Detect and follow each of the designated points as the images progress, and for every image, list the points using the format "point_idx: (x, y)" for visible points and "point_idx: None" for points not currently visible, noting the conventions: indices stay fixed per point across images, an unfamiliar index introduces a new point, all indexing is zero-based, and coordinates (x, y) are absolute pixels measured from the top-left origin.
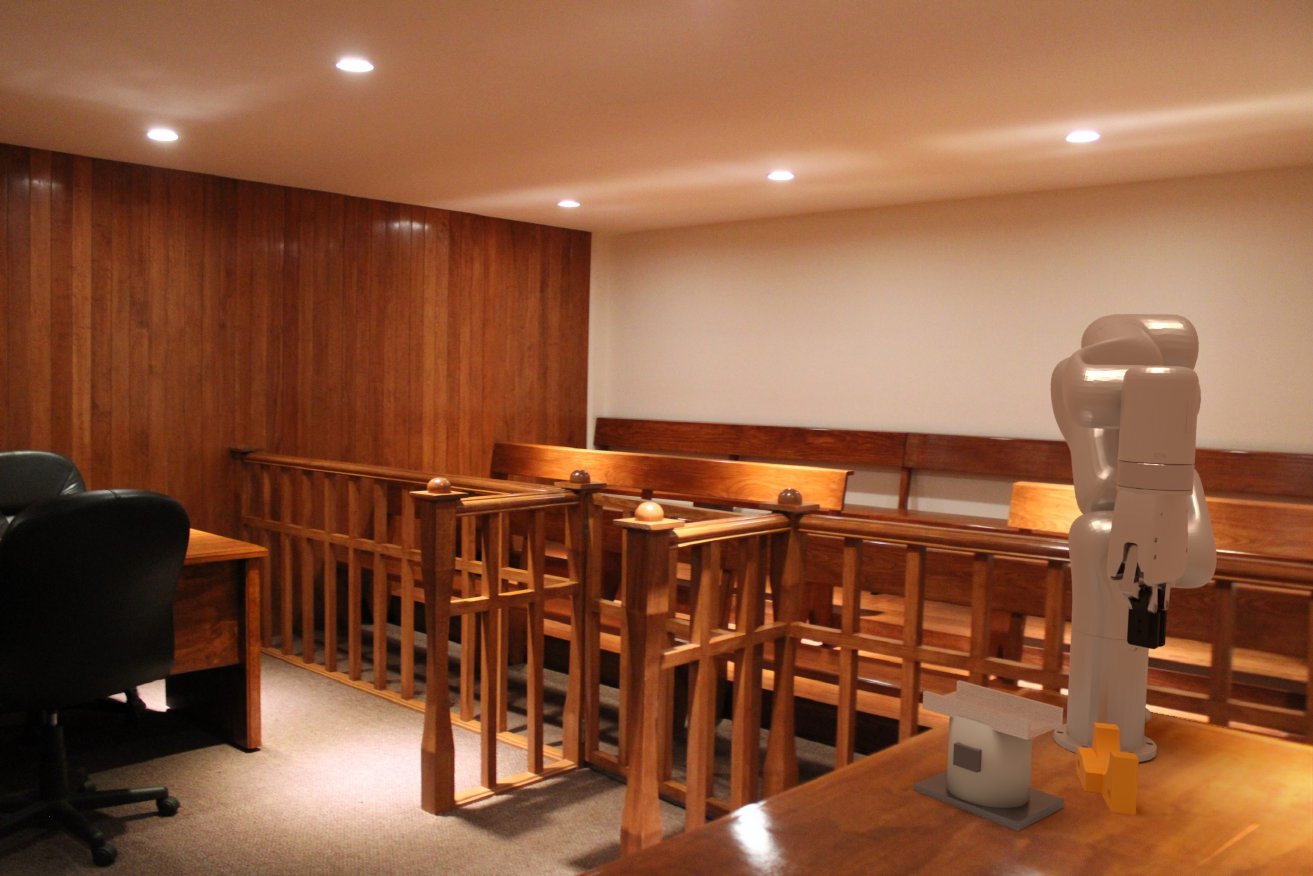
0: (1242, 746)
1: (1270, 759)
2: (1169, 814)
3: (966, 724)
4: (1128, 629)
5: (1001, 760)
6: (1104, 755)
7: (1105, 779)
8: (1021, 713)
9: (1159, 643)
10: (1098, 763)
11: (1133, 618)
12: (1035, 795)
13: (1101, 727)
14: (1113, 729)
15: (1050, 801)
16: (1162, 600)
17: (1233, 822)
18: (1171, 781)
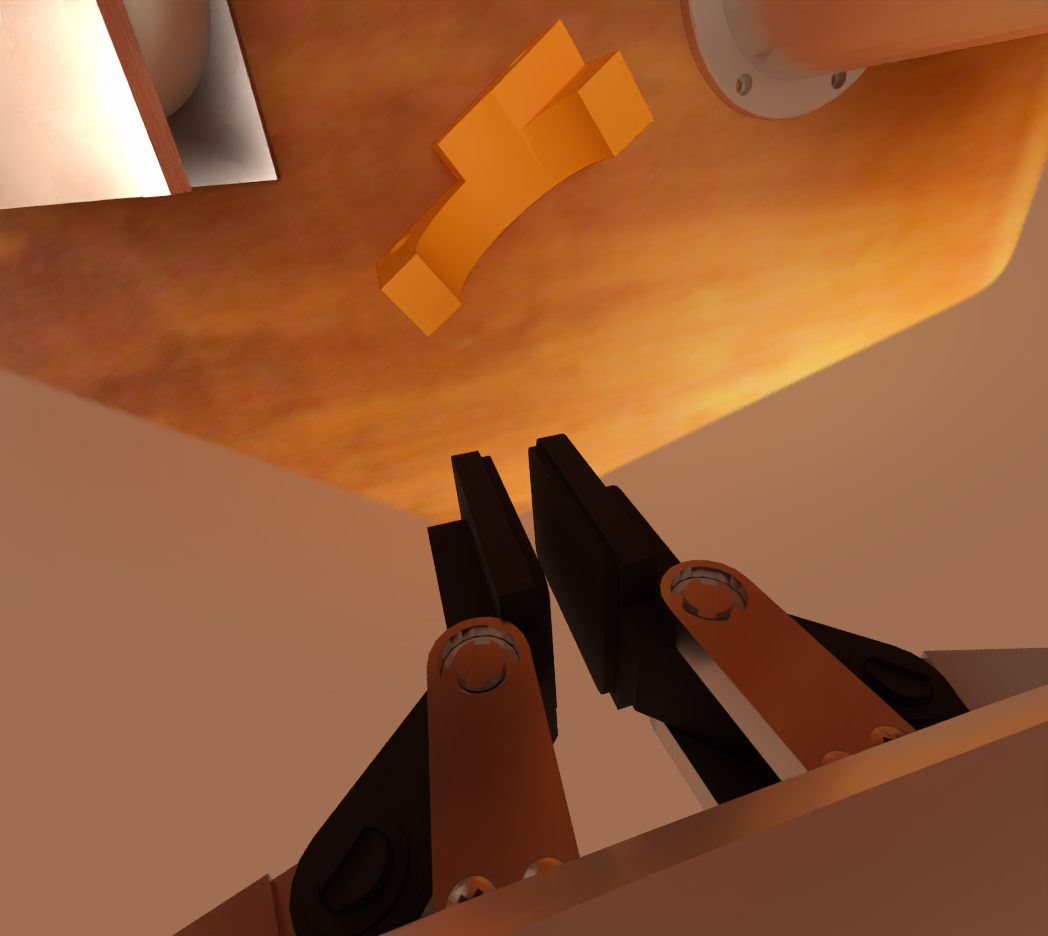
0: (951, 213)
1: (901, 285)
2: (481, 336)
3: None
4: (465, 499)
5: None
6: (540, 141)
7: (434, 213)
8: (6, 4)
9: (540, 557)
10: (507, 141)
11: (443, 607)
12: (211, 109)
13: (590, 103)
14: (604, 140)
15: (223, 167)
16: (672, 750)
17: (547, 411)
18: (656, 237)
